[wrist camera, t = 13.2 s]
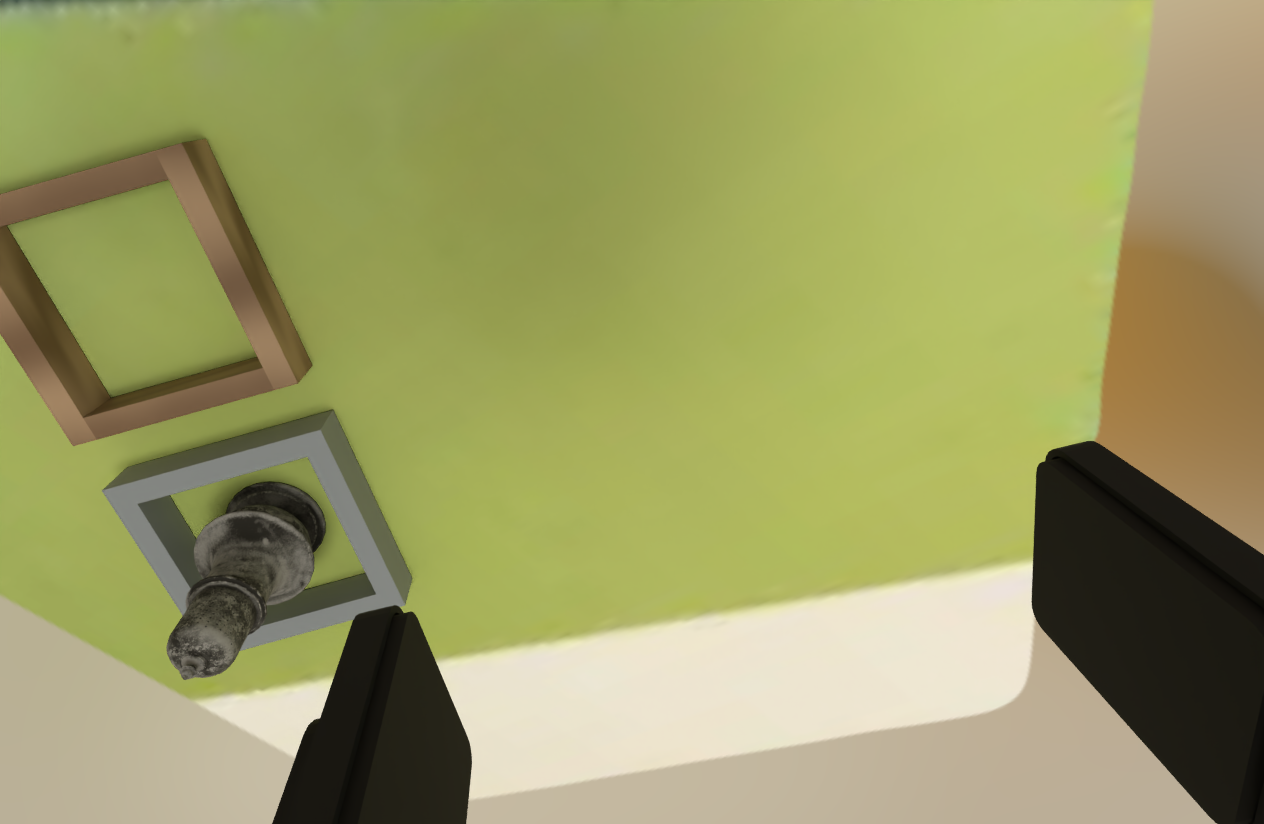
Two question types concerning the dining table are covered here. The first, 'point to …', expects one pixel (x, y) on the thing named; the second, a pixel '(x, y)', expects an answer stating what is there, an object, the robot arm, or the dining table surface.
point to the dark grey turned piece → (245, 573)
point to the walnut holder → (50, 356)
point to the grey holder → (318, 437)
